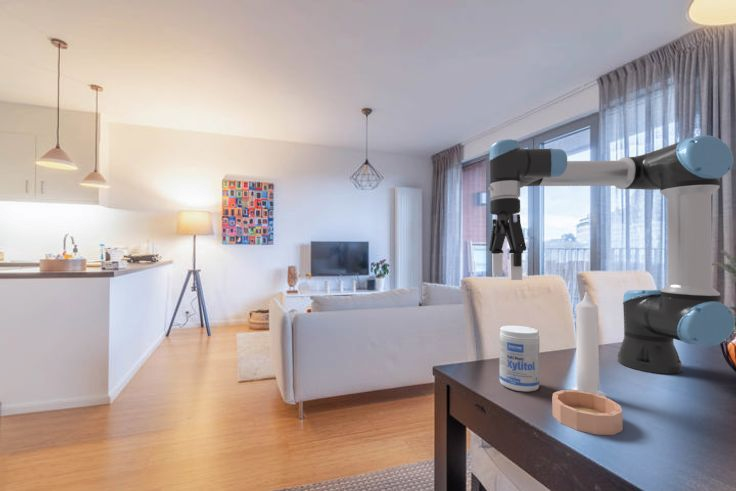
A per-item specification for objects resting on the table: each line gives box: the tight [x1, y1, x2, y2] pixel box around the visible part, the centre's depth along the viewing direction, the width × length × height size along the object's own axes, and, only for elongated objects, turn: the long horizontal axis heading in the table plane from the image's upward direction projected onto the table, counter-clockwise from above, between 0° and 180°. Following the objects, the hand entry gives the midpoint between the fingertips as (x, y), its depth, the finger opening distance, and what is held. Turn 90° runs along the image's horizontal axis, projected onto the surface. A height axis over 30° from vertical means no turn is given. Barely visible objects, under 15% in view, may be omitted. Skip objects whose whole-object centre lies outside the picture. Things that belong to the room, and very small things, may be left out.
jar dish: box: [551, 389, 624, 436], centre depth 71 cm, size 12×12×4 cm
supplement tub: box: [498, 325, 540, 393], centre depth 89 cm, size 10×10×15 cm
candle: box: [570, 291, 607, 398], centre depth 83 cm, size 7×7×25 cm
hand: (506, 278), depth 92 cm, fingers open, 13 cm apart
